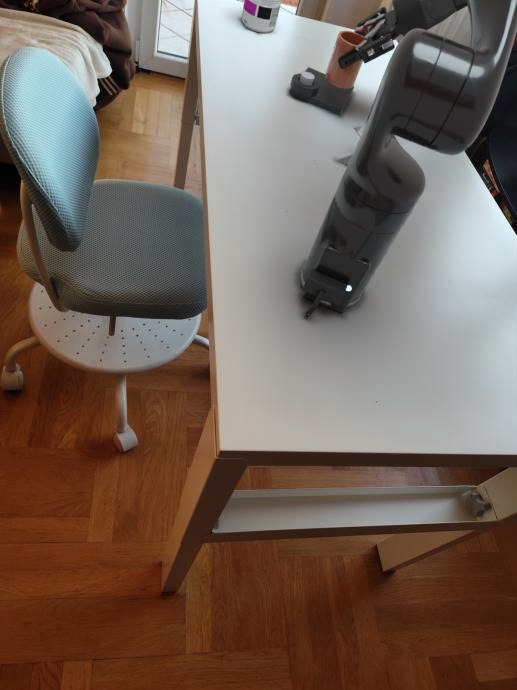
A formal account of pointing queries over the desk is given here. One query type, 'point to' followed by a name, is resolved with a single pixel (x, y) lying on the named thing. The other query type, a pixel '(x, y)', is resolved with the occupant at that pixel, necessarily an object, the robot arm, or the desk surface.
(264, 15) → the supplement can
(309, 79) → the button
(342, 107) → the scale
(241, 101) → the desk surface
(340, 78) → the terracotta flower pot
